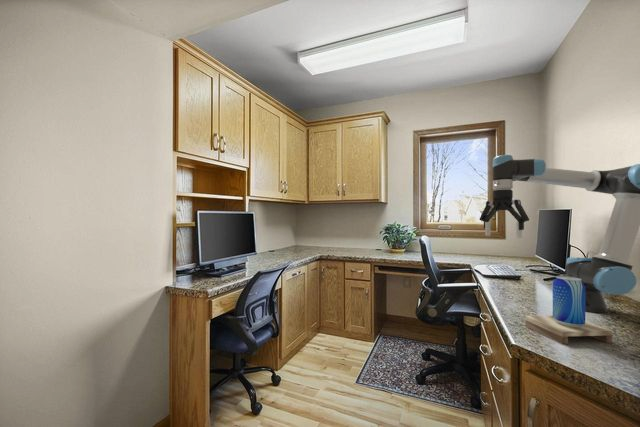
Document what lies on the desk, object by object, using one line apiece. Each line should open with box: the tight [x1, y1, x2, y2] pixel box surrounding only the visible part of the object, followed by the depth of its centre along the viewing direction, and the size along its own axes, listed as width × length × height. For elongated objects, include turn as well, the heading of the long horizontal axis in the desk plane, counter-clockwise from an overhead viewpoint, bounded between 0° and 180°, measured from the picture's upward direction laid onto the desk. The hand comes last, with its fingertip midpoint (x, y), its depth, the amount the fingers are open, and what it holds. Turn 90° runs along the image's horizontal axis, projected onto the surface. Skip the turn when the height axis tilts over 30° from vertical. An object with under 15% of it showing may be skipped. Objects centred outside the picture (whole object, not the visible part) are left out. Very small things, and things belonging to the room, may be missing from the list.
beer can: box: [552, 275, 586, 328], centre depth 94 cm, size 8×8×16 cm
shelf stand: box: [525, 315, 613, 345], centre depth 95 cm, size 18×14×4 cm
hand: (502, 236), depth 122 cm, fingers open, 13 cm apart
